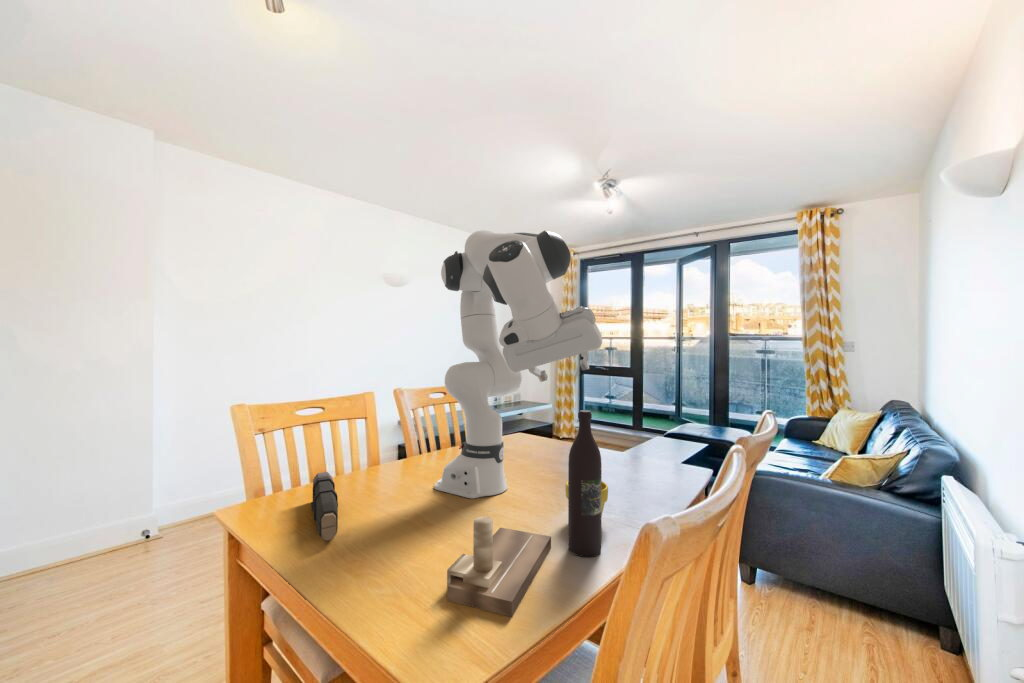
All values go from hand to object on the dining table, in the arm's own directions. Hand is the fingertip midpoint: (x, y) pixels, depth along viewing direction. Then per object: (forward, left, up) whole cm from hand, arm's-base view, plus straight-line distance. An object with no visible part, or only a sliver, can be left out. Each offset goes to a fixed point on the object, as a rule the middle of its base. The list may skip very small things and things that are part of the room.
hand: (564, 374), depth 86 cm
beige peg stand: (-12, -18, -38) cm, 43 cm away
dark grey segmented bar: (-60, -6, -39) cm, 72 cm away
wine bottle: (+4, +3, -38) cm, 39 cm away
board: (-9, -11, -38) cm, 41 cm away
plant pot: (+2, +16, -38) cm, 42 cm away
